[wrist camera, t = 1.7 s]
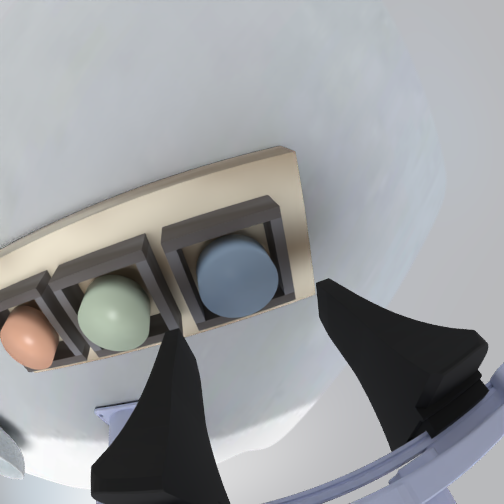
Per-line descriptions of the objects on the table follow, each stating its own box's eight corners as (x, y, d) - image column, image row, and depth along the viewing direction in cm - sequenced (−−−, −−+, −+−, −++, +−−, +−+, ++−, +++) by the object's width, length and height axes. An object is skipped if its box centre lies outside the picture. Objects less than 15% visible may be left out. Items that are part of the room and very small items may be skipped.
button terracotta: (69, 345, 16) (64, 365, 14) (31, 354, 15) (25, 372, 14) (37, 299, 14) (27, 317, 12) (0, 312, 13) (-10, 330, 12)
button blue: (273, 285, 17) (283, 303, 16) (208, 306, 17) (212, 326, 15) (260, 224, 15) (270, 239, 14) (185, 248, 15) (187, 265, 13)
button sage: (161, 320, 16) (161, 341, 15) (105, 336, 16) (101, 357, 14) (133, 265, 14) (129, 284, 13) (73, 286, 14) (64, 305, 12)
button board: (302, 276, 22) (327, 311, 18) (41, 352, 20) (29, 390, 16) (280, 145, 17) (310, 157, 13) (-20, 260, 15) (-47, 292, 11)
